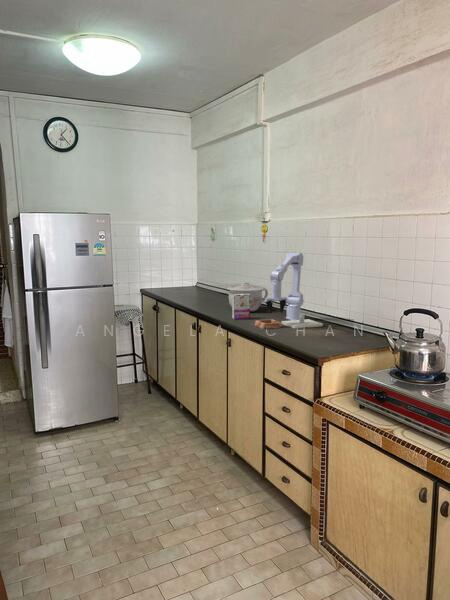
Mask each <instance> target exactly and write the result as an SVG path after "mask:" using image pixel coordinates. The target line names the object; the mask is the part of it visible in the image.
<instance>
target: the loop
mask: <svg viewBox="0 0 450 600" xmlns="http://www.w3.org/2000/svg"><path fill="white" fill-rule="evenodd" d="M282 325H283V324H282V323H281V321H278V320H275V319H273V318H271V319H270V318H269V319H259V320H254V326H256V327H258V328H260V329H263V330H269V329H270V330H272V329H281V328H282Z"/></svg>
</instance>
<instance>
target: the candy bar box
mask: <svg viewBox="0 0 450 600" xmlns="http://www.w3.org/2000/svg"><path fill="white" fill-rule="evenodd" d="M231 309H232V311H231V314H232V315H231V316H232V319H233V320H234V321H235V320H249V319H251V312H250V294H232V307H231Z"/></svg>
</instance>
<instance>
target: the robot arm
mask: <svg viewBox="0 0 450 600" xmlns="http://www.w3.org/2000/svg"><path fill="white" fill-rule="evenodd" d="M303 265H304V255H303V253H302V252H288V251H287V253H286V254H285V259H284V261H283V263H279V265H278V266H277V267H276V269H274V270H272V271H271V272H270V275H269V278H270V283H271V297H267V298H265V300H264V302H265V304H266V306H267V309H268V314H273V311H272V310H273V304H274V303H273V302H279V313H281V314H283V312H284V309H285V306H286V305H287V308H286V317H285V319H287V320H288V321H291V320H299V319H300V314H301V307H302V306H303V304H304V294H303V293H302V292H301V291H300V289H301V288H300V285H301V271H302V270H301V269H302V266H303ZM289 266H292V278H291V279H292V282H291V291H290V292H288V293H287V296H285V297H283V296H282V281H283V280H284V276H285V274H286V273H287V271H288V267H289Z"/></svg>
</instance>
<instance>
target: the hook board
mask: <svg viewBox="0 0 450 600" xmlns="http://www.w3.org/2000/svg"><path fill="white" fill-rule="evenodd" d="M280 322H281V323H282V325H284V326H286V327H290V328H292V329H305V328H306V327H307V328H315V327H316V328H317V327H323V325H324V323H321V322H318V321H315V320H313V319H309V318H307V319H305V314H303V313H300V319H299V320H281V321H280Z"/></svg>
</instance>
